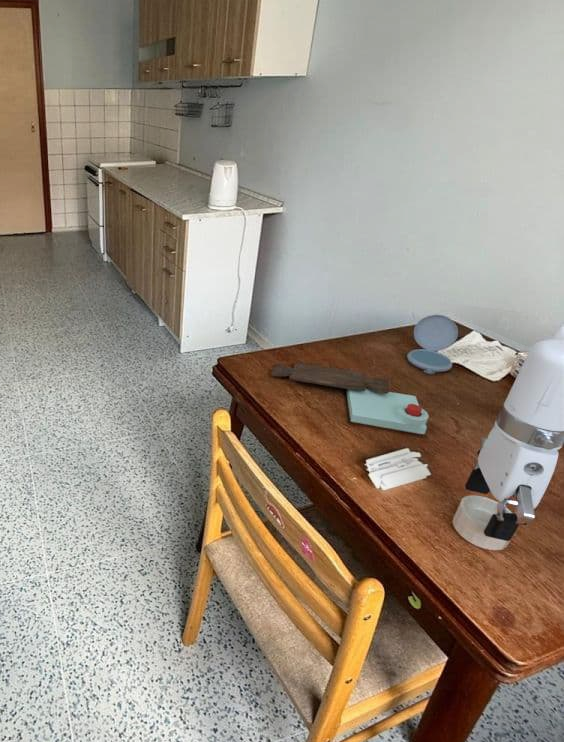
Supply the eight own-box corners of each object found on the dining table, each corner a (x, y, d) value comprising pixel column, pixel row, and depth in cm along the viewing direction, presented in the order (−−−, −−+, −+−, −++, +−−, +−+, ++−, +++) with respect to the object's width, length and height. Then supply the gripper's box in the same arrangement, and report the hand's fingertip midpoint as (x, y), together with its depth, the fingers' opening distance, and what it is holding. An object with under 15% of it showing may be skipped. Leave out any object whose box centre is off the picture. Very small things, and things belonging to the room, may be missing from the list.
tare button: (418, 411, 100) (420, 405, 99) (420, 418, 97) (423, 412, 97) (404, 408, 100) (406, 402, 100) (406, 415, 98) (408, 409, 97)
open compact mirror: (463, 318, 121) (466, 342, 110) (450, 355, 126) (451, 381, 115) (418, 310, 126) (417, 332, 114) (407, 346, 131) (404, 371, 119)
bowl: (497, 521, 78) (508, 501, 76) (513, 558, 72) (525, 537, 70) (446, 510, 80) (455, 490, 78) (458, 545, 74) (468, 524, 72)
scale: (414, 403, 107) (418, 390, 106) (426, 435, 97) (431, 422, 96) (346, 392, 112) (349, 379, 110) (350, 422, 102) (354, 409, 100)
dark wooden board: (276, 365, 124) (269, 379, 116) (277, 359, 124) (269, 372, 115) (388, 380, 113) (389, 397, 104) (389, 374, 112) (390, 390, 104)
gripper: (597, 473, 57) (536, 566, 65) (538, 397, 72) (494, 480, 80) (523, 459, 60) (474, 550, 68) (480, 388, 74) (444, 470, 82)
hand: (485, 512), depth 74 cm, fingers open, 9 cm apart
